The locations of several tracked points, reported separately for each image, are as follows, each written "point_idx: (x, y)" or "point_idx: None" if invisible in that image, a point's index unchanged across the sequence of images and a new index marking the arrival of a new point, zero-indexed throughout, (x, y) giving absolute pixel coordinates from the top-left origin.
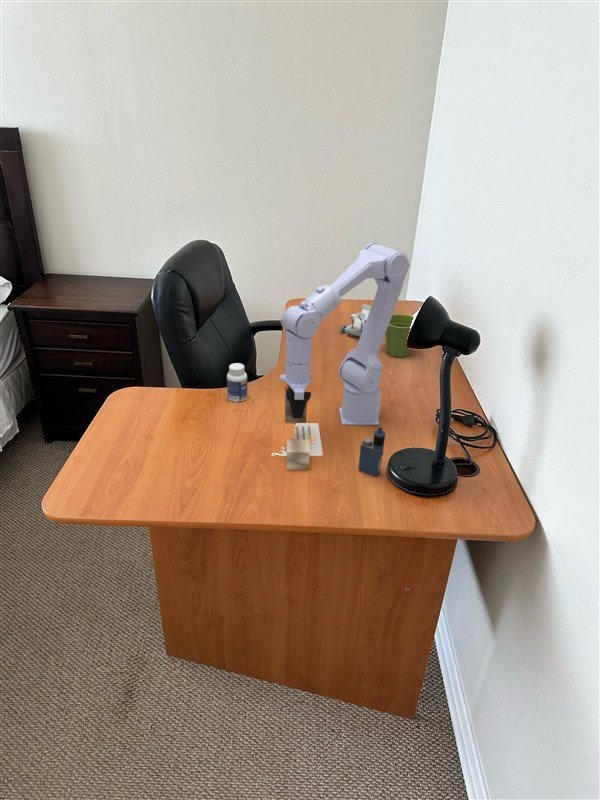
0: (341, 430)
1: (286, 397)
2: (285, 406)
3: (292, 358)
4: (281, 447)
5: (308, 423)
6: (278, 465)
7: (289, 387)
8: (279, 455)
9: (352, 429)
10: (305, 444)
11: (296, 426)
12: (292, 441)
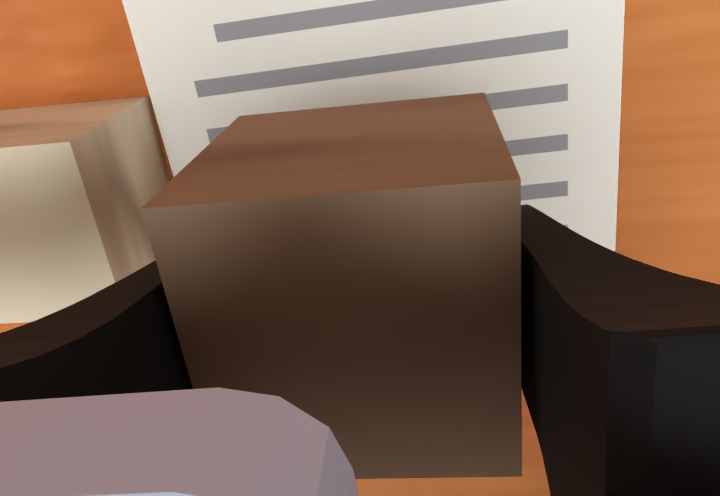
0: (522, 423)
1: (382, 212)
2: (159, 200)
3: None
4: (244, 43)
5: (611, 227)
6: (28, 45)
7: (562, 316)
8: (136, 40)
9: (536, 476)
10: (52, 293)
11: (565, 138)
12: (52, 192)
